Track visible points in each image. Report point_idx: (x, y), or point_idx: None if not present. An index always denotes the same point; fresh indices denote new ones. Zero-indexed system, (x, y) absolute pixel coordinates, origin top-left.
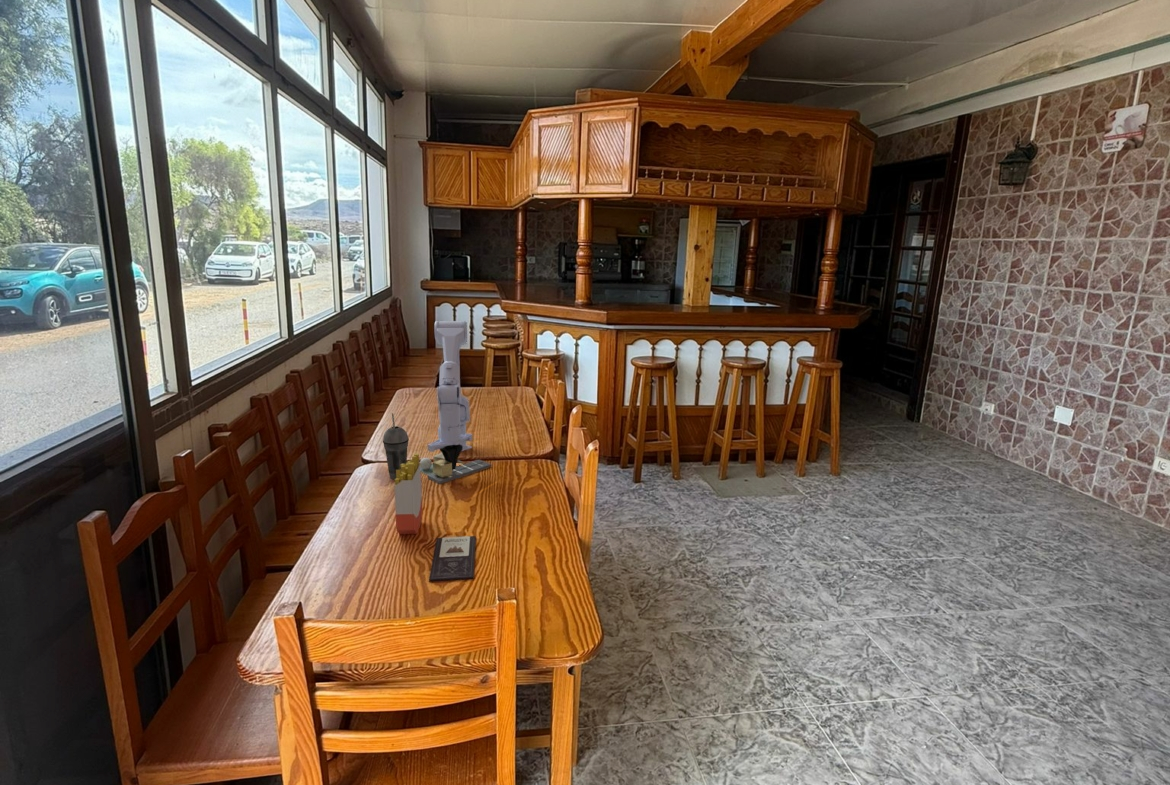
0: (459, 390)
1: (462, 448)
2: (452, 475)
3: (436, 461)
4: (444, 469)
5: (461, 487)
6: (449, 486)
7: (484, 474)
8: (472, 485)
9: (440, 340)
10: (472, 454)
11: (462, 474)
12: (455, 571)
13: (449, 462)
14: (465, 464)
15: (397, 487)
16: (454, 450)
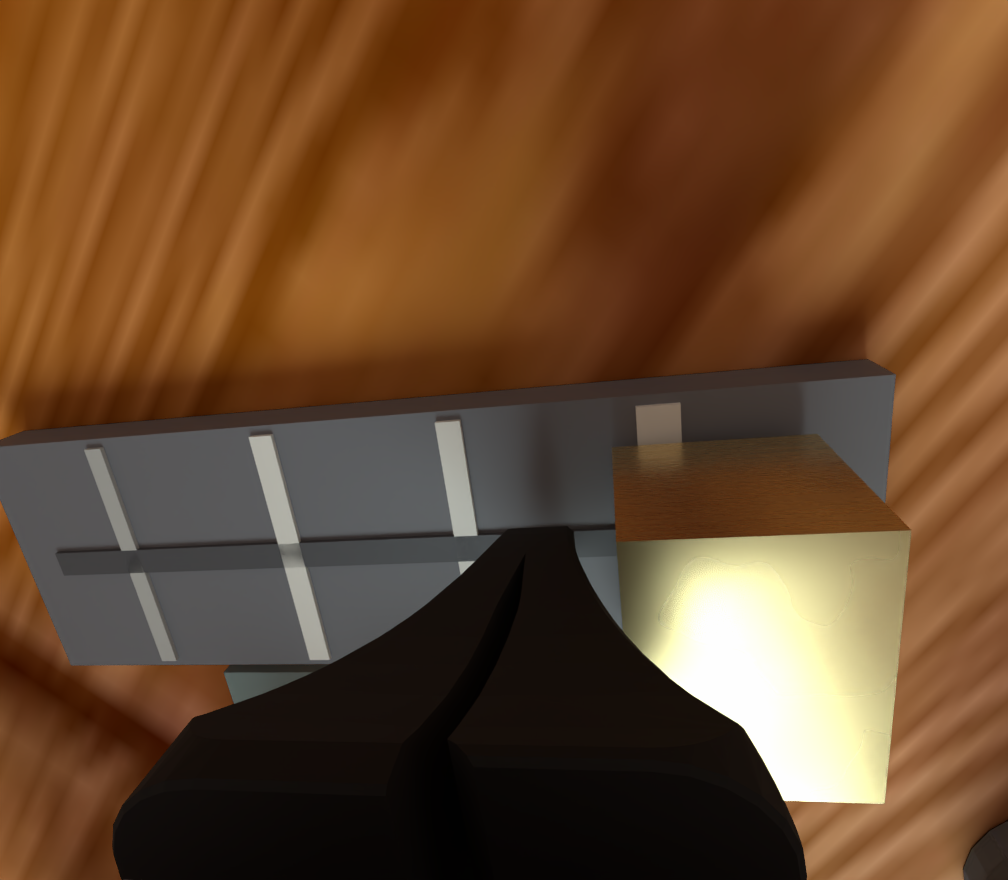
0: None
1: (183, 730)
2: (600, 446)
3: (803, 786)
4: (798, 491)
5: (681, 51)
6: (797, 221)
7: (170, 298)
8: (496, 12)
9: None
10: (92, 831)
11: (451, 405)
12: None
13: (637, 593)
14: (268, 643)
15: None
16: (527, 738)
